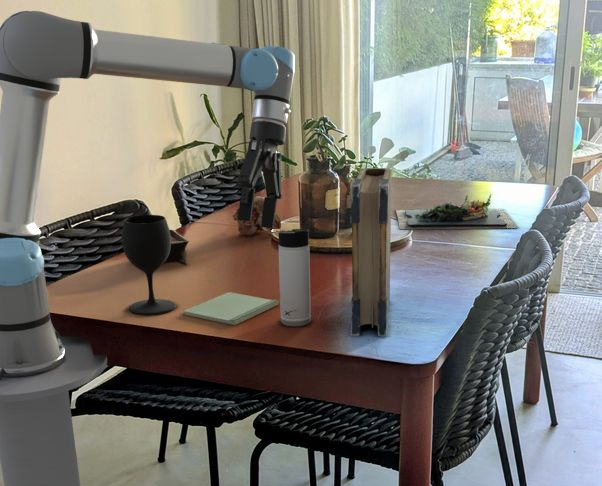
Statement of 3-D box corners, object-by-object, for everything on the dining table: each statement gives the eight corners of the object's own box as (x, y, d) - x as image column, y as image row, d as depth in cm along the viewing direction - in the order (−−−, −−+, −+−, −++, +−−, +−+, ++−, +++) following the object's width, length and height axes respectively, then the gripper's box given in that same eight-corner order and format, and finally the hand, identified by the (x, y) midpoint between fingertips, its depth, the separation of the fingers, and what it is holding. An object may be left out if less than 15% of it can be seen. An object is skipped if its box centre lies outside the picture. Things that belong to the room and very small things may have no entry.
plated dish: (502, 208, 281) (503, 186, 278) (519, 229, 255) (520, 205, 252) (394, 211, 283) (394, 189, 280) (400, 232, 257) (400, 208, 254)
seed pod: (214, 217, 247) (260, 203, 241) (230, 194, 260) (274, 180, 254) (233, 256, 253) (278, 243, 247) (247, 232, 266) (291, 219, 260)
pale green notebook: (234, 325, 179) (234, 320, 179) (183, 314, 187) (183, 310, 186) (278, 304, 192) (278, 300, 191) (228, 295, 199) (228, 291, 199)
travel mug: (288, 329, 176) (286, 233, 169) (276, 319, 182) (273, 226, 175) (316, 324, 179) (314, 229, 172) (303, 315, 184) (301, 223, 177)
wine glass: (119, 312, 189) (110, 222, 182) (146, 298, 198) (138, 212, 191) (158, 317, 185) (151, 225, 178) (185, 303, 194) (178, 215, 187)
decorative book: (386, 336, 171) (388, 185, 160) (350, 335, 172) (350, 185, 161) (391, 300, 193) (393, 164, 182) (359, 299, 194) (359, 164, 183)
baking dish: (183, 259, 237) (176, 223, 235) (195, 265, 221) (188, 226, 218) (131, 269, 234) (124, 232, 231) (139, 276, 217) (131, 236, 215)
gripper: (265, 111, 169) (251, 219, 171) (303, 137, 193) (291, 232, 195) (230, 108, 172) (216, 215, 173) (272, 134, 195) (260, 228, 197)
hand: (256, 224), depth 184 cm, fingers open, 13 cm apart
